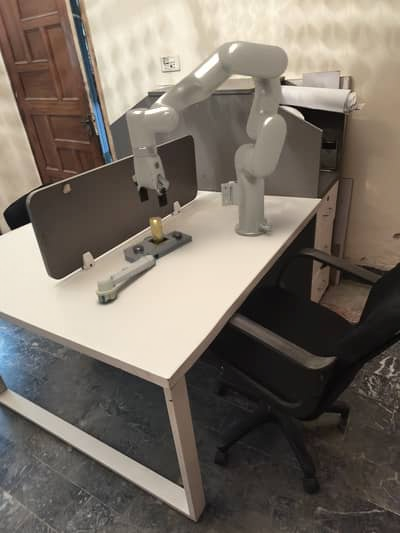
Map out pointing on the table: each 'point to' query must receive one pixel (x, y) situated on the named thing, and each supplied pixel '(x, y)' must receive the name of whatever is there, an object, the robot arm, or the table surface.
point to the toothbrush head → (122, 277)
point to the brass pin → (156, 230)
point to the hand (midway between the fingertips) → (154, 203)
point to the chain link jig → (156, 246)
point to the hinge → (229, 193)
